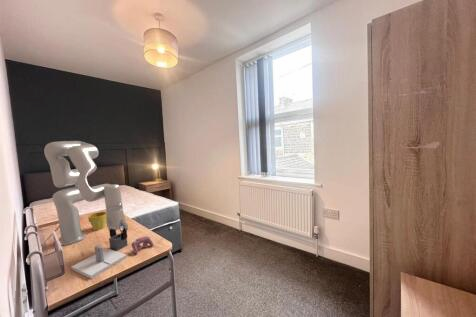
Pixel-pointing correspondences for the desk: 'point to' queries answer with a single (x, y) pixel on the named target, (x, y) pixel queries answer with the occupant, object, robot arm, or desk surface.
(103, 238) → the desk surface
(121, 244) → the grey u-shaped bracket
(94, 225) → the plant pot
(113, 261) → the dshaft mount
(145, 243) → the video game controller
